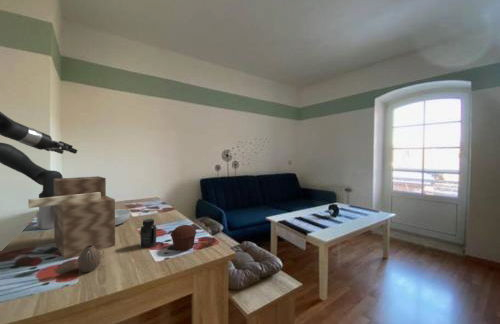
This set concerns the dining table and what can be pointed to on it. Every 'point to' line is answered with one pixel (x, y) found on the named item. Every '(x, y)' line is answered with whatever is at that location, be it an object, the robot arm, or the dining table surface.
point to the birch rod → (63, 199)
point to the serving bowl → (121, 215)
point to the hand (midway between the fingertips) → (69, 152)
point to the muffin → (183, 237)
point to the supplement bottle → (148, 233)
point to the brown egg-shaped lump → (89, 259)
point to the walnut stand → (83, 217)
